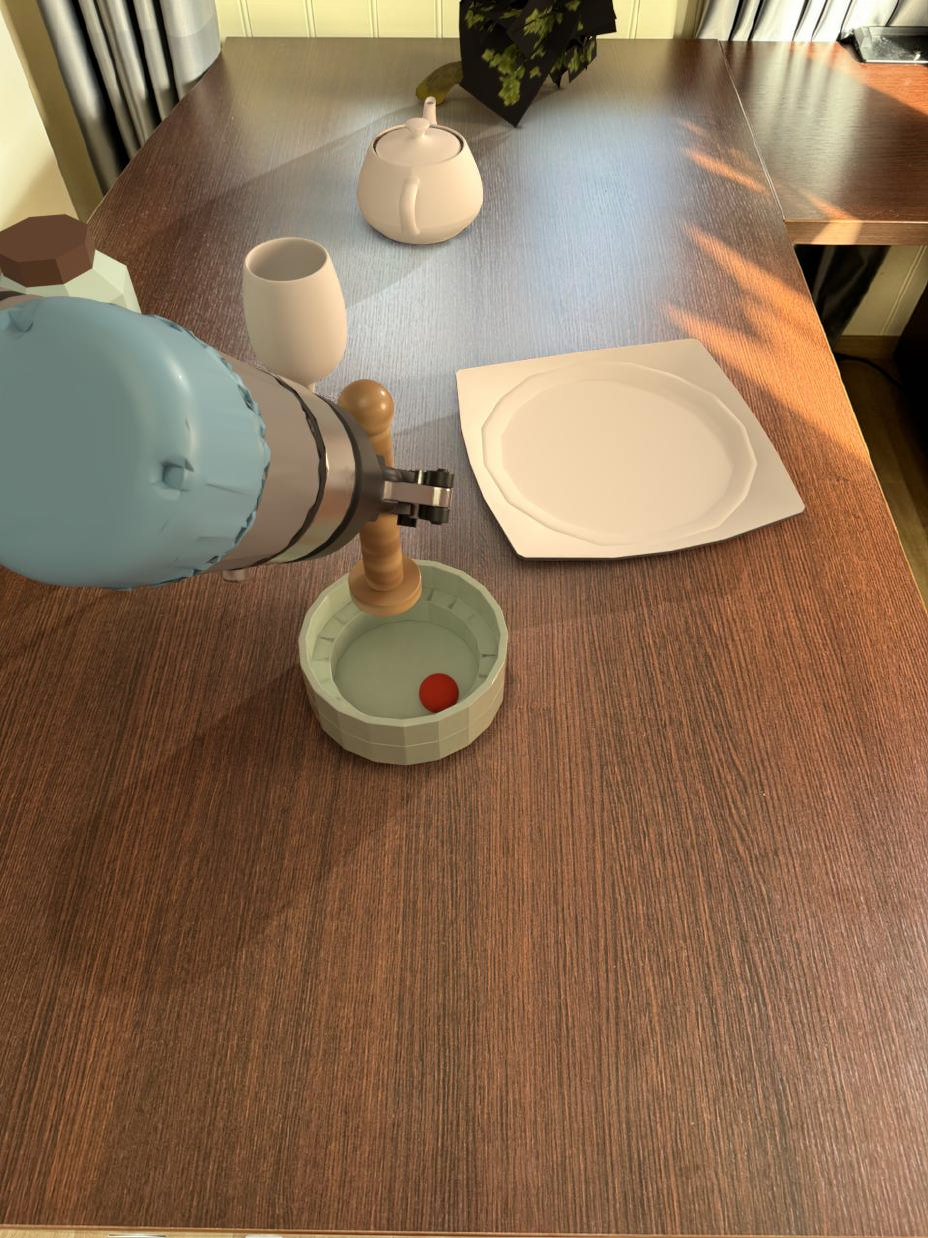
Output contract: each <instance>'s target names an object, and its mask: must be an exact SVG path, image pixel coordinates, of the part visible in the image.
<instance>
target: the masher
mask: <svg viewBox="0 0 928 1238" xmlns="http://www.w3.org/2000/svg"><path fill="white" fill-rule="evenodd" d="M339 393H340V394H339V395H338V398H337V402H336V404H338V405H339V406H341V407H342V408H344V409H345V410H346V411H348V412H349V413H350V414H351V415H352V416H353V417H354V418H355V419H356V420H357V421H358V423H359V424H360V425H361V427H362V428H363V429H364V431H365V433H366V434H367V436H368V438H369V440H370V442H371V444H372V447H373V449H374V452H375V454H377V455H381V456H384V458H385V465H386V466H389V467H393V468H395V462H394V449H393V437H392V427H391V424H392V422H393V419H394V417H395V402H394V399H393V396H392V394H391V393H390V391H389V390H388V389H387V388H386V386H384V385H383V384H382V383H380V382H378V381H376V380H373V379H367V378H361V379H357V380H354V381H352V382H350V383H349V384H347V385H346V386H345V387H344V388H343V389H342V390H341V392H339ZM397 518H398V515H395V514H389V513H380V514H379V516H378V519H377V521H375V522H366V524H365V525H364V527H363V528H362V529H361V530H360V532H359V533H358V534H359V542H360V549H361V558H360V559H359V560H358V561H357V562H355V563H354V565H353V566H352V567H351V569H350V571H349V572H350V574H349V578H348V585H349V591H350V596H351V599H352V601H353V602H354V604H355V605H356V606H357V607H358V608H359V609H360V610H362V611H364V612H365V613H368V614H370V615H374V616H382V617H386V616H394V615H397V614H400V613H403V612H405V611H407V610H408V609H410V608H411V607H412V606H413V605H414V604H415V603H416V602H417V600H418V599H419V597H420V595H421V591H422V582H421V573H420V570H419V567H418V566H417V564H416V563H415V562H414V561H413V560H412V559H413V558H411V557H409V556H407V555H405V554H403V553H402V552H403V551H402V542H401V532H400V531H401V529H400V525H397Z"/></svg>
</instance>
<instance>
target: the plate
mask: <svg viewBox="0 0 928 1238" xmlns="http://www.w3.org/2000/svg"><path fill="white" fill-rule="evenodd" d="M455 384H456V385H455V386H456V394H457V405H458V413H459V422H460V423H459V424H460V433H461V436H462V441H463V444H464V449H465V452H466V455H467V459H468V463H469V467H470V470H471V471H472V474H473V477H474V479H475V482H476V484H477V487H478V490H479V492H480V495H481V497H482V500H483V502H484V504H485V505H486V507H487V509H488V511H489V512H490V514H491V515H492V517H493V519H494V521H495V522H496V524H497V526H498V528H499V529H500V531H501V532H502V534H503V536H504V537H505V539H506V541H507V542H508V544H509V546H510V547H511V550H512V551H513V552H514V554H515V556H516V557H517V558H519V559H521V560H523V561H525V562H526V561H527V562H530V561H533V562H537V561H538V562H539V561H542V562H543V561H549V562H550V561H558V562H559V561H561V562H562V561H619V560H620V561H621V560H627V559H629V560H630V559H636V558H643V557H644V558H645V557H653V556H660V555H661V556H663V555H669V554H674V553H679V552H683V551H689V550H693V549H697V548H698V549H699V548H702V547H703V548H704V547H707V546H712V545H715V544H721V543H724V542H725V543H726V542H728V541H731V540H733V539H737V538H739V537H742V536H745V535H748V534H751V533H754V532H756V531H759V530H763V529H765V528H768V527H771V526H775V525H776V524H780V523H783V522H786V521H789V520H792V519H794V518H798V517H800V516H802V515H803V513H804V511H805V509H806V505H805V503H804V501H803V500H802V497H801V495H800V494H799V492H798V489H797V488H796V486H795V484H794V482H793V480H792V478H791V476H790V475H789V472H788V470H787V468H786V467H785V464H784V462H783V461H782V459H781V457H780V455H779V453H778V451H777V449H776V447H775V445H774V444H773V443H772V441H771V440H770V437H769V436H768V435H767V433H766V431H765V430H764V428H763V427H762V425H761V423H760V422H759V421H760V420H759V419H758V418H757V417H756V415H755V414H754V412H753V411H752V409H751V408H750V406H749V405H748V404H747V402H746V401H745V399H744V398H743V396H742V395H741V393H740V392H739V391H738V389H737V388H736V386H735V385H734V384H733V382H732V381H731V380H730V378H729V377H728V376H727V374H726V373H725V372H724V371H723V369H722V368H721V367H720V366H719V364H718V362H717V361H716V360H715V358H713V356H712V354H711V353H709V351H708V350H707V348H706V347H705V346H704V344H703V343H702V342H701V341H700V340H699V339H697V338H685V339H684V338H683V339H675V340H667V341H658V342H651V343H641V344H634V345H626V346H618V347H617V346H616V347H609V348H601V349H600V348H599V349H593V350H585V351H576V352H569V353H562V354H555V355H547V356H541V357H534V358H530V359H522V360H514V361H508V362H507V361H506V362H502V363H494V364H488V365H487V364H486V365H482V366H481V365H480V366H474V367H468V368H462V369H461V368H460V369H459V370H458V371H457V372H455Z"/></svg>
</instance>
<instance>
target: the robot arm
mask: <svg viewBox="0 0 928 1238" xmlns="http://www.w3.org/2000/svg"><path fill="white" fill-rule="evenodd" d="M455 477H456V473H453V472H450V471H449V469H448V468H440V467H438V468H437V469H436V470H429V469H422V468H416V469H415V470H413V469H409V470H407V469H402V468H395V467H394V468H393V467H389V466H386V465H385V458H384V456H381V455H377V454H375V452H374V449H373V447H372V444H371V442H370V440H369V438H368V436H367V434H366V433H365V431H364V429H363V428H362V427H361V425H360V424H359V423H358V421H357V420H356V419H355V418H354V417H353V416H352V415H351V414H350V413H349V412H348V411H346V410H345V409H344V408H342V407H341V406H339V405H338V404H337V402H334V401H332V400H330V398H326V397H324V396H322V395H319V394H317V393H316V392H315V393H313V392H311V391H310V390H308V389H307V388H306V387H304V386H302V385H300V384H298V383H295V382H293V381H291V380H288V379H286V378H284V377H282V376H279V375H277V374H275V373H273V372H270V371H268V370H267V369H266V368H263V367H261V366H258V365H256V364H251V363H245V362H243V361H241V360H240V359H237V358H235V357H233V356H230V355H229V354H227V353H224V352H222V351H221V350H218V349H217V348H214V347H213V346H212V345H209V344H208V343H206V342H204V341H203V340H201V339H199V338H198V337H197V336H196V335H195V333H193V331H192V330H189V329H188V328H186V327H184V326H182V325H180V324H178V323H176V322H174V321H172V320H171V319H168V318H166V317H162V316H159V315H158V314H153V313H150V314H144V313H142V314H140V313H137V312H134V311H132V310H129V309H127V308H124V307H122V306H119V305H117V304H112V303H105V302H99V301H96V300H92V299H87V298H81V297H71V296H53V297H44V296H39V295H33V294H28V295H27V294H24V293H20V292H17V291H14V290H11V289H7V288H3V287H0V566H1V567H4V568H6V569H7V570H8V571H11V572H13V573H15V574H17V575H20V576H22V577H24V578H26V579H29V580H33V581H36V582H39V583H43V584H47V585H52V586H56V587H57V586H58V587H65V588H98V589H105V590H110V591H119V592H132V591H134V590H137V589H139V588H142V587H144V586H146V587H149V588H151V589H157V588H161V587H164V586H167V585H169V584H176V583H180V582H183V581H184V580H186V579H188V578H193V577H196V576H202V575H203V576H204V575H208V574H213V573H214V574H215V573H219V572H220V577H221V578H222V580H223V581H224V582H228V583H233V584H239V583H242V582H243V581H245V580H246V579H247V571H248V569H249V568H254V567H260V566H261V567H262V566H271V565H285V564H293V563H300V562H307V561H314V560H318V559H321V558H324V557H327V556H329V555H331V554H335V552H338V551H339V550H341V549H343V548H344V547H345V546H346V545H348V544H349V543H351V541H353V540H354V539H355V538H356V537H357V535H358V534H359V532H360V530H361V529H362V528H363V527H364V525H365V524H366V522H375V521H377V519H378V516H379V514H380V513H389V514H395V515H398V518H397V525H399V527H400V526H401V527H406V528H414V529H416V528H417V523H418V520H421V521H426V522H429V523H430V525H434V526H442V525H443V524H449V522H450V516H451V507H452V500H453V492H454V485H455Z"/></svg>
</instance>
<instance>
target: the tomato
mask: <svg viewBox="0 0 928 1238" xmlns="http://www.w3.org/2000/svg"><path fill="white" fill-rule="evenodd" d="M458 697H459V689H458V686H457V683H456V682H455V681H454V679H453V678H451V677H450V676H448V675H446V674H443V673H435V674H432V675H429V676H428V677H426V678H425V679H424V680H423V682H422V683H421V685H420V688H419V698H420V701H421V703H422V705H423V706H424V707H425V708H426V709H427V710H429V711H431V712H434V713H439V712H441V711H443V710H445V709H447V708H449V707H452V706H454V705H455V704H456V703H457V700H458Z"/></svg>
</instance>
